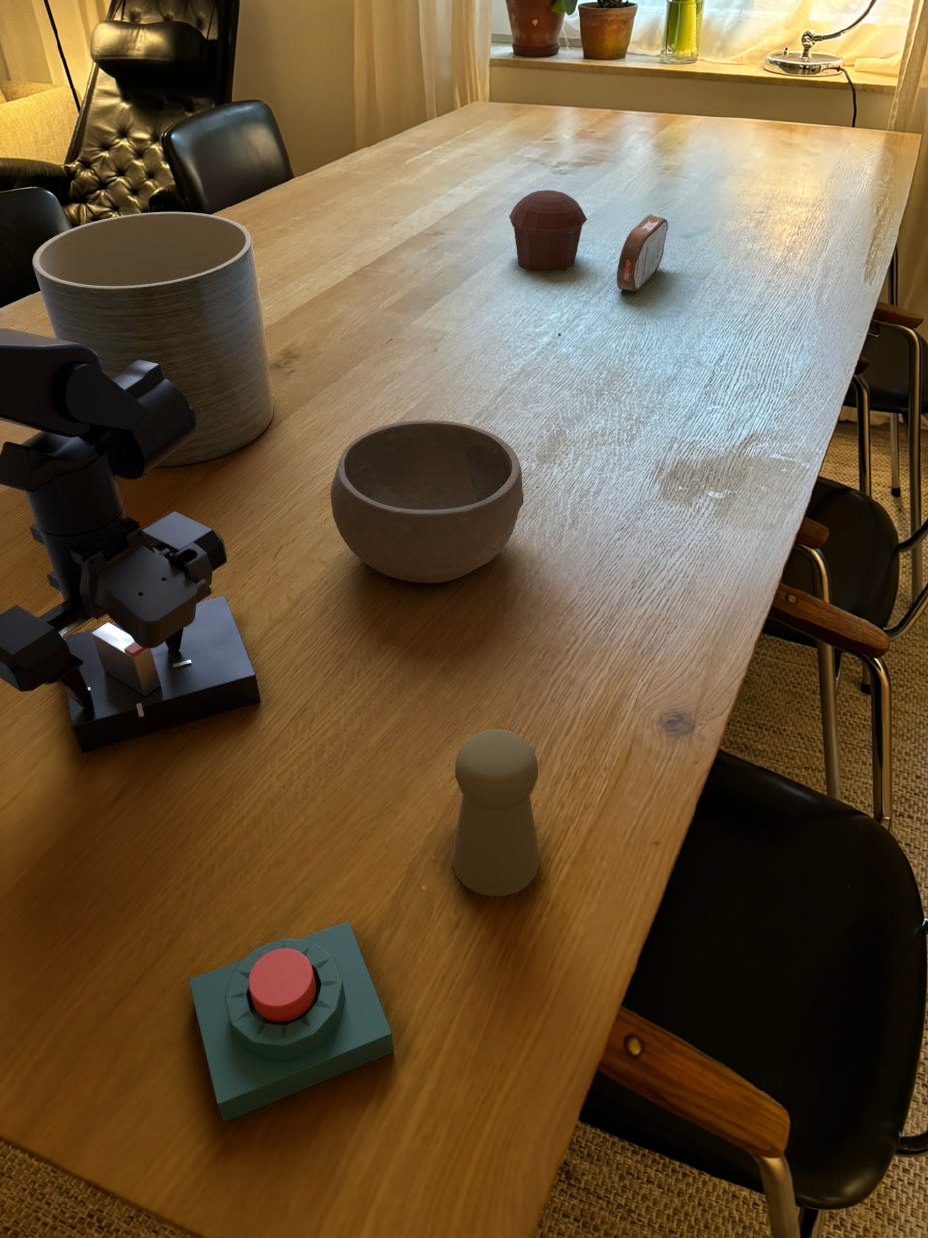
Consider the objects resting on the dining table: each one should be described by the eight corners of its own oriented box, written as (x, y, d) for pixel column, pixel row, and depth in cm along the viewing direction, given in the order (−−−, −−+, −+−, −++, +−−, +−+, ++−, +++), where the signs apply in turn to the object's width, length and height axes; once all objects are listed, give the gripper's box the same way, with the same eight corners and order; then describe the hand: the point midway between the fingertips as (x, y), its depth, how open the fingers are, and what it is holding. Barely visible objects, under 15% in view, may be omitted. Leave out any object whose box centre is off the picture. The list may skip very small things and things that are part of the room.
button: (261, 1032, 55) (256, 1016, 54) (246, 977, 57) (241, 961, 56) (324, 1008, 56) (320, 992, 55) (306, 955, 58) (302, 939, 57)
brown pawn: (459, 818, 71) (456, 709, 64) (544, 829, 70) (550, 720, 63) (444, 890, 66) (438, 781, 59) (534, 902, 65) (540, 793, 58)
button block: (224, 1123, 55) (211, 1089, 52) (195, 998, 60) (182, 962, 58) (394, 1052, 58) (390, 1017, 55) (351, 940, 63) (346, 903, 61)
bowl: (531, 508, 101) (534, 420, 94) (505, 619, 87) (506, 525, 81) (367, 493, 103) (359, 406, 97) (317, 599, 90) (304, 506, 83)
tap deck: (83, 764, 75) (72, 735, 73) (66, 664, 84) (56, 636, 82) (264, 710, 79) (258, 682, 77) (230, 621, 88) (224, 593, 86)
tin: (646, 262, 152) (652, 205, 146) (666, 265, 151) (673, 208, 145) (612, 297, 142) (617, 238, 136) (633, 301, 140) (639, 241, 135)
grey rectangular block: (103, 671, 79) (90, 630, 76) (120, 660, 80) (107, 619, 77) (145, 696, 76) (132, 656, 73) (161, 685, 77) (149, 644, 74)
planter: (241, 477, 106) (207, 293, 93) (48, 462, 109) (-11, 282, 96) (301, 382, 123) (279, 215, 110) (132, 371, 126) (92, 207, 113)
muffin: (494, 264, 152) (494, 196, 146) (533, 243, 159) (534, 177, 152) (560, 281, 147) (563, 211, 140) (597, 258, 153) (602, 190, 147)
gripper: (34, 629, 58) (100, 801, 68) (261, 488, 70) (290, 653, 80) (-71, 563, 64) (5, 732, 74) (157, 442, 75) (196, 603, 85)
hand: (132, 678), depth 78 cm, fingers open, 8 cm apart
